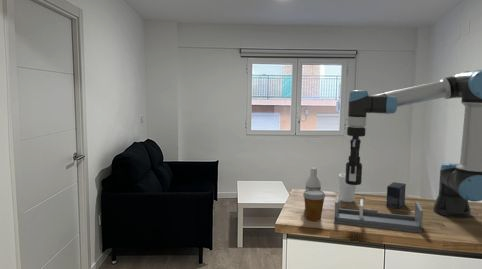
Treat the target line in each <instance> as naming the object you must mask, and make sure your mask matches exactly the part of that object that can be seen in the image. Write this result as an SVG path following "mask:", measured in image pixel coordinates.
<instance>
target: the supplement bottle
mask: <svg viewBox="0 0 482 269" xmlns="http://www.w3.org/2000/svg"><path fill="white" fill-rule="evenodd" d="M347 160H348V162H346V164H345V173H346V175H345V182H346V184H349V185H356V186H360V185H362V180H363V179H362V178H363V164H362V163H361V156H360V155H359V156H357V162H356V166H357V169H356V181H349V172H350V166H348V164H349V163H350V155H348V158H347ZM352 163H354V162H352Z"/></svg>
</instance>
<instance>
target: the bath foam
mask: <svg viewBox="0 0 482 269" xmlns="http://www.w3.org/2000/svg"><path fill="white" fill-rule="evenodd" d="M317 174H318V168H317V167H314V166H313V167H310V176H309V177H308V178H307V180H306V181H305V182H306V183H305V191H306V190H320V191H322V185H321V181H320V179H319V177H318V175H317Z"/></svg>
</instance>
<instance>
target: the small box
mask: <svg viewBox="0 0 482 269" xmlns="http://www.w3.org/2000/svg"><path fill="white" fill-rule="evenodd" d="M406 185H407V184H406V183H401V182H392V183H390V184H389V185H387V187H386V189H387V190H386V207H387V208H390V209H396V210H400V209H401V208H402V207H403V206H404V205H405V204H406Z"/></svg>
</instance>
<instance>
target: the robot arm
mask: <svg viewBox="0 0 482 269" xmlns="http://www.w3.org/2000/svg"><path fill="white" fill-rule="evenodd" d="M438 99H439V100H440V99H445V100H449V99H461V102H460V103H461V104H462V105H463V106H464V116H463V127H462V135H461V136H462V138H461V149H460V158H459V159H460V161H459V163H449V162H448V163H442V164H441V165H440V170H439V184H438V186H439V187H438V195H437V198H436V199H435V201H434V204H433V212H435V213H437V214H439V215H442V216H446V217H451V218H458V219H459V218H460V219H461V218H469V217H470V216H471V212H472V211H471V206H470V203H469V202H476V203H477V202H481V201H482V69H476V70H467V71H464V72H463V71H462V72H460V73H458V74H454V75H451V76H447V77H443V78H442V77H441V78H440V80H438V81H433V82H429V83H424V84H419V85H415V86H411V87H406V88H405V87H404V88H401V89H395V90H391V91H387V92H384V93H378V94H369V92H368V90H357V89H356V90H351V91H350V92H349V97H348V111H347V118H346V121H347V128H346V135H347V136H349V137H352V138H351V140H349V143H350V151H349V152H350V155H349V156H350V163H349V164H348V166H350V172H349V181H356V169H357V166H356V162H357V156H360V148H361V143H362V141H361V139H360V137H365V136H366V127H367V115H368V114H387V115H390V114H391V115H393V114H395V113H396V112H397V110H398V107H403V106H408V105H413V104H418V103H423V102H428V101H433V100H434V101H435V100H438ZM352 162H354V163H352Z"/></svg>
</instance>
